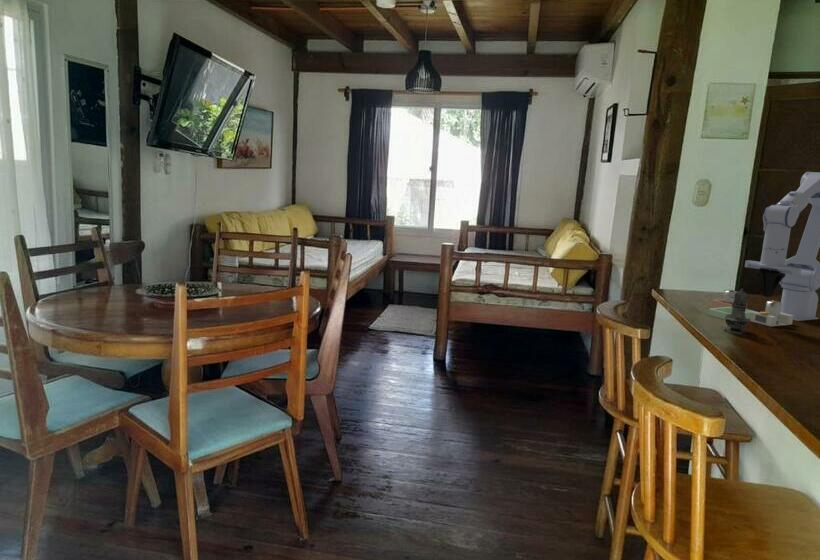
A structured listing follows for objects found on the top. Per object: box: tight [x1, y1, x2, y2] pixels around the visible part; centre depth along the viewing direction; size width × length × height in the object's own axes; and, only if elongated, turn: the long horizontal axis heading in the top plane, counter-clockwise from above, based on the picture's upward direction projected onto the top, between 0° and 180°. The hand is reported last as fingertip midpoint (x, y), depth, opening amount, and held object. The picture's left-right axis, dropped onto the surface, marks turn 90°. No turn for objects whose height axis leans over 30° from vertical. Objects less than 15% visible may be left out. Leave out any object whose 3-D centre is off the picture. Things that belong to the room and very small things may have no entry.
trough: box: [706, 307, 757, 321], centre depth 157 cm, size 12×7×2 cm, turn 111°
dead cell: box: [723, 289, 737, 304], centre depth 165 cm, size 4×4×6 cm
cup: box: [710, 299, 748, 309], centre depth 165 cm, size 7×7×3 cm
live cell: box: [764, 300, 782, 324], centre depth 151 cm, size 4×4×6 cm
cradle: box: [749, 311, 794, 327], centre depth 151 cm, size 9×6×4 cm, turn 111°
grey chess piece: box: [723, 288, 751, 336], centre depth 140 cm, size 6×6×12 cm
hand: (767, 296), depth 149 cm, fingers closed
